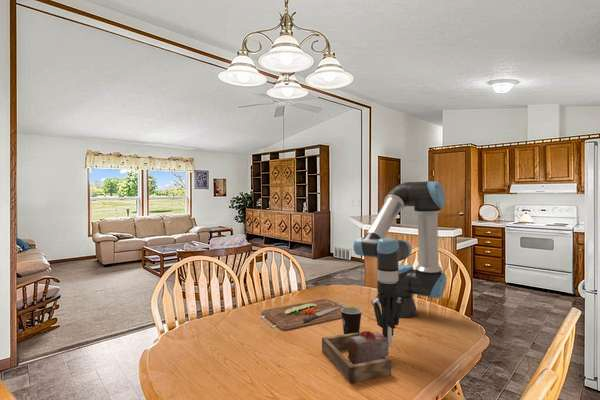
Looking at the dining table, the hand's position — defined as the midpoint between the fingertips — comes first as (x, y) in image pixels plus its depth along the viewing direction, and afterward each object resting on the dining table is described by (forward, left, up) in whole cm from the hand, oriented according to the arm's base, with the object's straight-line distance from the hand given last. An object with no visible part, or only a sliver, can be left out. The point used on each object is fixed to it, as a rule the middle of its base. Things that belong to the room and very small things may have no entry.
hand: (387, 344), depth 124 cm
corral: (+14, 0, -4) cm, 14 cm away
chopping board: (+13, -50, -5) cm, 52 cm away
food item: (+8, 0, -4) cm, 9 cm away
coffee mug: (+3, -23, -4) cm, 24 cm away
